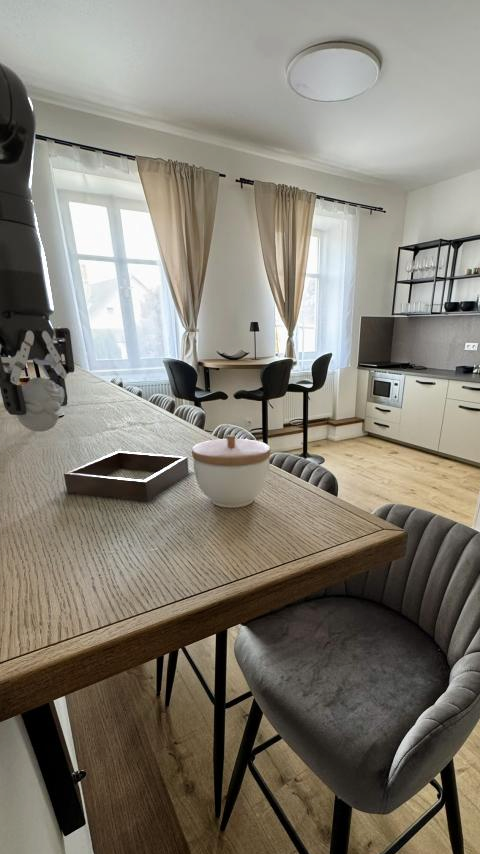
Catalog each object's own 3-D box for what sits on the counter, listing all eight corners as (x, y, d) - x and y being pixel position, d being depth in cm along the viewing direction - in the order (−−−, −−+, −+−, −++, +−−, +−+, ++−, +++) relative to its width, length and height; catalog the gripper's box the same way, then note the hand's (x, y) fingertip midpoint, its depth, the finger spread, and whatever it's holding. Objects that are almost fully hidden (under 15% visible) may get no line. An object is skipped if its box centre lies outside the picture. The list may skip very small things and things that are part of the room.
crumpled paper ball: (80, 429, 58) (72, 377, 55) (29, 438, 52) (18, 381, 50) (55, 424, 61) (46, 375, 58) (5, 432, 55) (-8, 378, 53)
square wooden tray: (66, 492, 71) (63, 473, 70) (119, 467, 86) (117, 451, 84) (147, 501, 68) (145, 482, 67) (188, 474, 82) (187, 457, 81)
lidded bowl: (180, 508, 66) (175, 440, 62) (215, 483, 77) (212, 425, 73) (254, 519, 62) (254, 448, 58) (279, 491, 74) (280, 430, 70)
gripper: (32, 279, 57) (54, 401, 63) (-73, 261, 44) (-32, 417, 50) (79, 278, 55) (97, 403, 61) (-15, 259, 42) (20, 421, 48)
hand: (39, 409), depth 56 cm, fingers closed on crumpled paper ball, 7 cm apart
